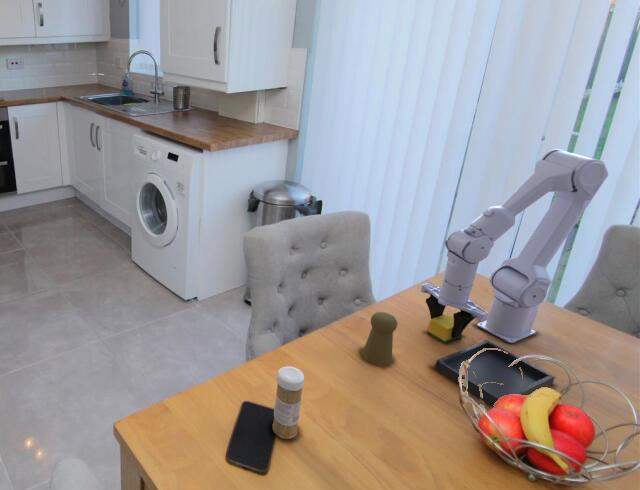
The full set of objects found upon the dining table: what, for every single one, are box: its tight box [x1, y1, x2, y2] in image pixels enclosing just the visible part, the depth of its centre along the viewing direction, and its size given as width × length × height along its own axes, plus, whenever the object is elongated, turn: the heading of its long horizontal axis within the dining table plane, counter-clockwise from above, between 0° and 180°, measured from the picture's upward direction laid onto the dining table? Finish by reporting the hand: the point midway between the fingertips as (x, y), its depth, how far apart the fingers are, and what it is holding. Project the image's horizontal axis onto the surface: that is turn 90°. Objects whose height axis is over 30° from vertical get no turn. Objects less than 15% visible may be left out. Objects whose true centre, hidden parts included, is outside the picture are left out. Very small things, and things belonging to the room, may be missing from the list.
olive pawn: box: [362, 311, 398, 367], centre depth 107 cm, size 6×6×11 cm
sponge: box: [426, 313, 464, 344], centre depth 115 cm, size 6×4×4 cm
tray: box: [434, 339, 556, 407], centre depth 101 cm, size 17×14×2 cm
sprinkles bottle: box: [271, 365, 305, 440], centre depth 88 cm, size 5×5×14 cm
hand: (445, 330), depth 115 cm, fingers closed on sponge, 4 cm apart
